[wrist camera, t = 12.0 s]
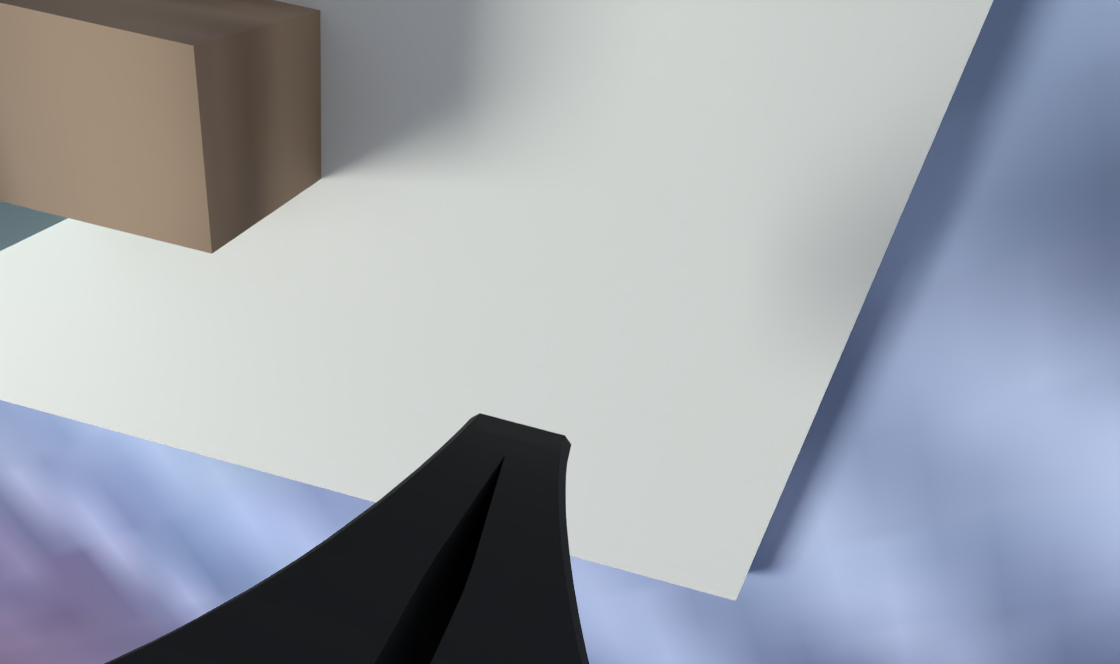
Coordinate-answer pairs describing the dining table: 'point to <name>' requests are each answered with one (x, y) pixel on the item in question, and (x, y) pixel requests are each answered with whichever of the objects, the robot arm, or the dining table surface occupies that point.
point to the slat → (159, 112)
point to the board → (529, 259)
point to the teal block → (22, 223)
